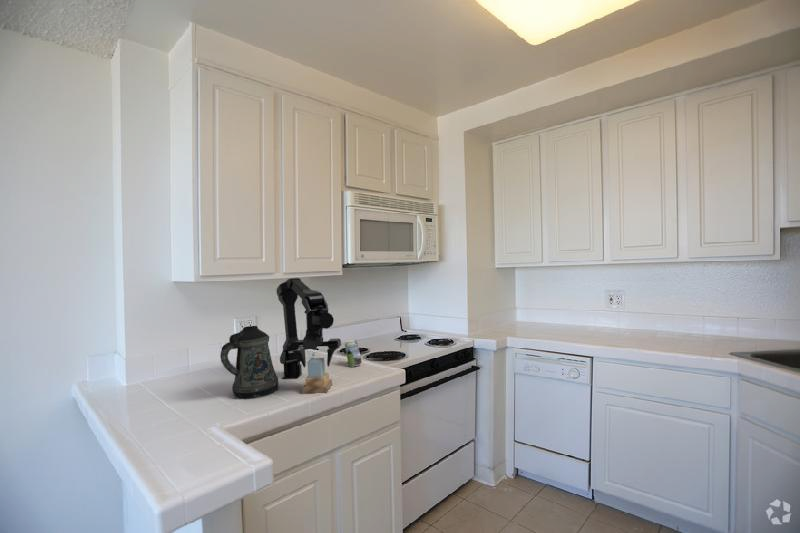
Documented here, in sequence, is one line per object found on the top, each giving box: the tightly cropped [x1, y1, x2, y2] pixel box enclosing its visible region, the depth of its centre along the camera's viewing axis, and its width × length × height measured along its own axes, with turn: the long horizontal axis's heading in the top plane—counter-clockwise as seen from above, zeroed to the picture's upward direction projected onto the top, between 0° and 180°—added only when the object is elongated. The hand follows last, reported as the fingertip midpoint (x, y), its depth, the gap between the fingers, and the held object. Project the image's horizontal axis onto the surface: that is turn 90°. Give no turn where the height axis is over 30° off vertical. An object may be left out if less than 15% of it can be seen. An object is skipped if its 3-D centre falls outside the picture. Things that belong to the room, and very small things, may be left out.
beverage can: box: [344, 339, 362, 368], centre depth 175 cm, size 6×7×12 cm
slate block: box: [306, 357, 326, 378], centre depth 144 cm, size 5×5×6 cm
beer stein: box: [219, 325, 279, 400], centre depth 143 cm, size 16×19×25 cm
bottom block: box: [301, 378, 333, 395], centre depth 144 cm, size 9×9×3 cm
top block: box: [304, 372, 330, 387], centre depth 143 cm, size 7×7×3 cm
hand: (316, 366), depth 144 cm, fingers open, 9 cm apart
